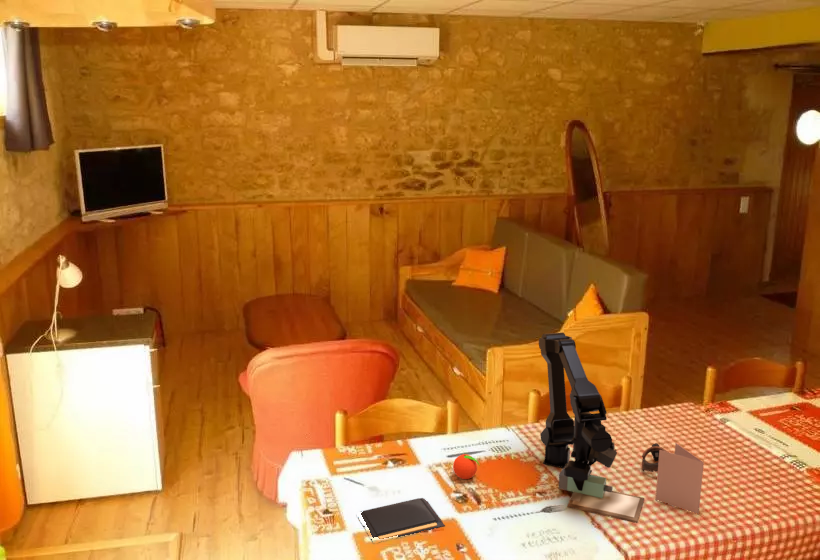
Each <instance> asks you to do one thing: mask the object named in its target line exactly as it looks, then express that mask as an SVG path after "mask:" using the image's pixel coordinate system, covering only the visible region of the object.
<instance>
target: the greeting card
mask: <svg viewBox="0 0 820 560" xmlns="http://www.w3.org/2000/svg"><path fill="white" fill-rule="evenodd" d="M657 462H658V471H657V475H656V476H657V477H656V487H655V489H656V490H655V501H657V500H659V501H658V502H660V501H662V502H661V503H663V502H665V503H664V504H666V503H668V504H667V505H669V504H670V505H669V506H672V505H673V506H672V507H675V506H676V507H675V508H678V507H679V508H678V509H681V508H682V510H684V509H685V510H684V511H687V510H688V511H687V512H690V511H691V512H690V513H693V512H694V513H693V514H696V513H697V514H696V515H699V514H700V505H701V494H702V487H703V486H702V485H703V475H704V464H705V463H704V461H703V460H701V459H699V458H698V457H697V456H695V455H694V454H692V453H691V452H689V451H688V450H687V449H685V448H684V447H683V446H682V445H680V444H678V443H677V442H675V446H674V453H673V452H670V453H669V451H668V452H666V451H662V450H659V461H657Z"/></svg>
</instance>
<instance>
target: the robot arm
mask: <svg viewBox="0 0 820 560" xmlns="http://www.w3.org/2000/svg"><path fill="white" fill-rule="evenodd" d="M576 345H577V344H576V341H575V340H574V339H573V337H572V336H570V335H569V336H568V335H566V334H565V332H552V333H551V332H550V333H543V334H542V335H541V337H539V338H538V347H539V349H540V354H541V356H542V358H543V359H544V361H545V362H546V365H547V378H548V379H547V383H548V393H549V396H548V397H549V411H550V412H549V414H548V415H547V417H546V419H545V428H544V429H543V430H542V431H541V432H540V441H541V442H542V444H543V445H544V446H545V447H544V460H542V464H543V465H547V466H552V467H556V468H557V467H558V468H561V469H563V468H564V475H565V476H567V477H571V478H573V480H574V482H575V484H576V487H577V489H578V490H580V491H582V489H583V486H584V482H585V480H588V478H589V476H590V475H592V472H593V470H592V469H591V467H592V466H593V465H594V464H595V463H597V462H598V463H599V464H601V465H603V466H604V467H605V468H606V469H607V468H608V469H611V466H612V465H613V463H614V461H615V459H616V457H617V453H618V452H617V449H616V448H615V442H613V438H612V435H611V433H609V432H608V431H607V430H606V426H605V425H604V424H602V421H607V419H608V418H607V413H608V412H607V408H606V406H605V402H604V399H603V397H602V394H600V392H599V390H598V388H597V387H596V385H595V384H594V383H593V382H591V381H589V379H588V377H587V375H586V371H585V369H584V367H583V364H582V361H581V360H580V357H579V354H578V352H577V349H576V347H577V346H576ZM565 374H566V377H567V380H568V383H569V386H570V387H571V389H570V393H569V399H570V406H571V410H572V413H573V415H574V419H573V418H572V417H570V415H569V414H568V409H567V394H566V379H565ZM592 412H597V413H592ZM598 412H599V413H598ZM569 445H570V446H572V452H571V448H570V447H569ZM570 457H571V458H573V459H574V460H571V459H570Z"/></svg>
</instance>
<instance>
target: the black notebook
mask: <svg viewBox="0 0 820 560" xmlns="http://www.w3.org/2000/svg"><path fill="white" fill-rule="evenodd" d="M425 499H426V498H423V497H420V498H419V497H418V498H415V499H410V500H404V501H401V502H396V503H391V504H387V505H384V506H383V505H382V506H378V507H375V508H370V509H365V510H362V511H363V512H362V511H361V512H362V513H361V515H362V517H363V519H364V521H365V522H366V525H367V527H368V528H369V530H370V533H371V535H372V537H373V538H374V537H378V538H379V539H384V538H389V537H393V536H397V535H398V537H400V536H404V537H406V536H405V535H408V536H411V535H410V534H412V535H415V534H414V533H416V534H419V532H420V533H422V532H421V531H424V530H428V531H431V529H432V530H435V529H434V528H436V529H439V528H444V527H446V525H445V524H444V522H443V521H442V519H441V517H440V516H439V515H438V514H437V512H436V511H435V510H434V508H433V507H432V506H431V504H430V503H429V501H426V500H427V499H426V500H425ZM424 532H425V531H424ZM400 538H401V537H400Z"/></svg>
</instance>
